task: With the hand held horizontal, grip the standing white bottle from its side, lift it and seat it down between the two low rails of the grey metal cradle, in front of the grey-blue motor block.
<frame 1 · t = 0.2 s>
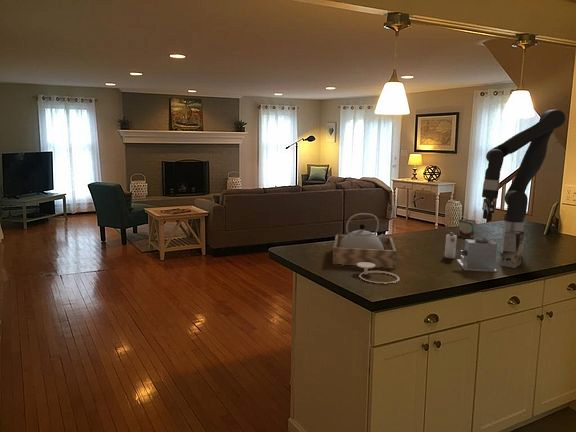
hand: (486, 219, 243), 17 cm above the counter, tool pointing down, fingers open, 8 cm apart
kettle caddy: (363, 258, 229), on the counter
kettle: (362, 258, 230), resting in kettle caddy
coffee box: (510, 265, 222), on the counter
food container: (468, 237, 285), on the counter
hand towel holder: (375, 278, 199), on the counter
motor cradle: (476, 265, 219), on the counter
white bottle: (449, 256, 235), on the counter
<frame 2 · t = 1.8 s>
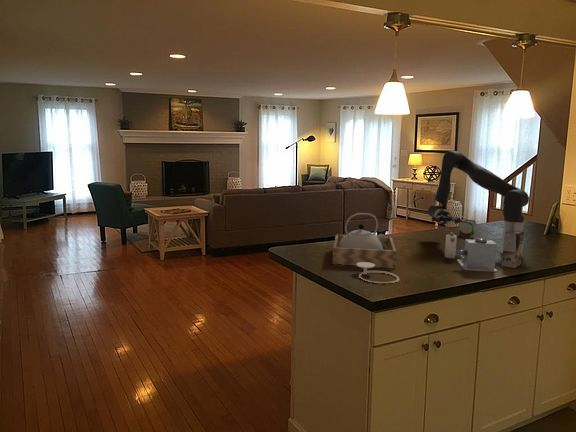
hand: (448, 221, 243), 16 cm above the counter, tool horizontal, fingers open, 8 cm apart
nothing on the counter moved.
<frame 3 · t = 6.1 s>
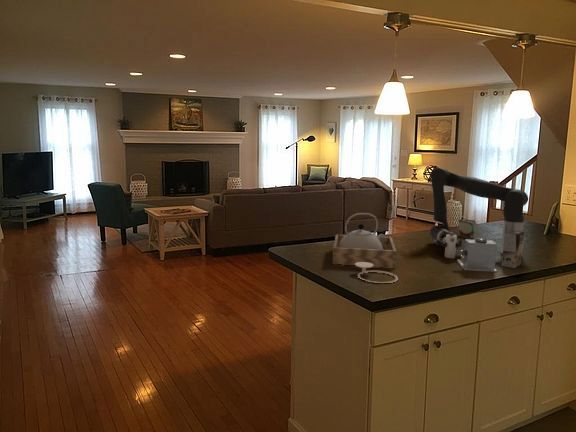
hand: (451, 245, 232), 7 cm above the counter, tool horizontal, fingers closed on white bottle, 5 cm apart
white bottle: (449, 256, 235), on the counter, touching gripper
everything else where it was.
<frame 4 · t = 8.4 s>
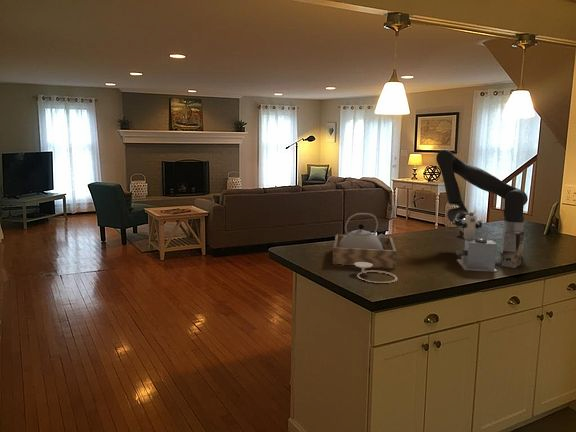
hand: (471, 226, 221), 18 cm above the counter, tool horizontal, fingers closed on white bottle, 5 cm apart
white bottle: (469, 238, 224), point 12 cm above the counter, touching gripper
everything else where it was.
when the fingers open (8 cm above the counter, at t = 11.0 s): white bottle drops 1 cm, resting on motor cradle.
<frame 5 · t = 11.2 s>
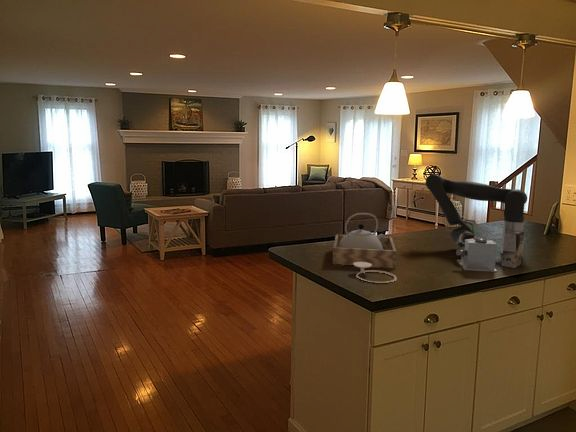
hand: (476, 247, 220), 8 cm above the counter, tool horizontal, fingers open, 7 cm apart
white bottle: (473, 262, 223), point 1 cm above the counter, touching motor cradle
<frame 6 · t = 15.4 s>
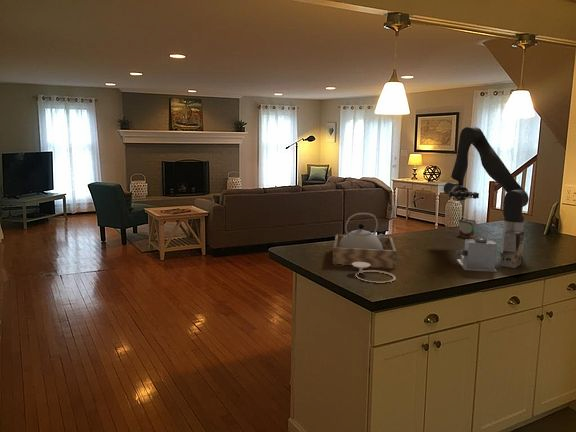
hand: (466, 196, 235), 30 cm above the counter, tool horizontal, fingers open, 8 cm apart
at the end: white bottle inside the target area on the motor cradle (0.2 cm from its centre), point 0.6 cm above the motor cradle's base; white bottle tilted 1°; the gripper is holding nothing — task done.
